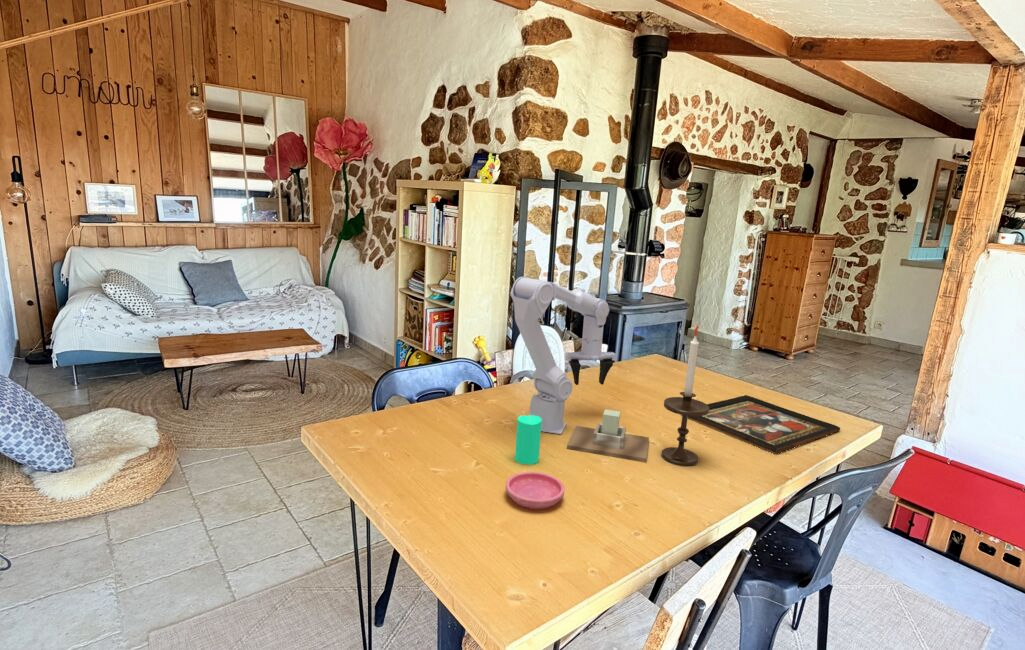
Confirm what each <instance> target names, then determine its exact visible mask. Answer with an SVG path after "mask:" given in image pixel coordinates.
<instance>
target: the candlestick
mask: <svg viewBox="0 0 1025 650" xmlns="http://www.w3.org/2000/svg"><path fill="white" fill-rule="evenodd" d="M698 330H699V325H698V323H697V324H696V327H695V329H694V331H693V335H694V337H693V339H692V340H690V345H689V353H688V358H687V359H688V360H687V368H686V375H685V384H684V390H683V391H680V392H679V395H681V396H672V397H668V398H667V397H666V398H665V399H664V401H663V407H664V409H666V410H667V411H669V412H671V413H674V414H676V415H677V414H678V415H680V416H681V423H680V427H677V430H676V431H677V433H678V437H676V441H678V444H677V445H678V446H677V447H675V446H673V447H672V446H671V447H665V448H663V449H662V450H661V454H660V456H661V458H662V459H663V460H664V461H666V462H667V463H669V464H671V465H675V466H681V467H693V466H696V465H697V464H698V463H699V456H698V454H696V453H695V452H693V451H691V450H690V449H686V448H685V443H686V442H688V439H687V438H686V436H687V435H688V434H689V433H690V431H689V429H688V427H687V425H688V420H689V419H688V416H705V415H707V414H708V413H709V406H708V405H707V404H708V403H705V402H703V401H700V400H699V399H698V400H697V399H694V398H696V397H697V394H695V393H693V389H694V381H695V380H694V379H695V375H696V374H695V373H696V366H697V365H696V364H697V359H698V351H699V344H700V343H699V341H698V337H697V336H698Z"/></svg>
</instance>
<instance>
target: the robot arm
mask: <svg viewBox="0 0 1025 650" xmlns="http://www.w3.org/2000/svg"><path fill="white" fill-rule="evenodd" d="M510 290H511V291H510V292H509V293H510V296H511V299H512V301H513V308H514V309H513V310H514V321H515V324H516V326H517V328H518V331H519V333H520V335H521V338H522V339H523V342H524V345H525V347H526V349H527V351H528V353H529V356H530V359H531V360H532V363H533V365H534V368H535V370H534V371H533V372H532V376H533V380H534V382H533V384H534V388H535V390H536V391H537V394H533V395H532V396H531V400H530V402H529V411H528V412H529V413H528V416H529V415H535V416H539V417H540V418H541V419H542V424H541V432H544V433H550V434H555V435H562V434H563V432H564V430H565V429H566V426H567V423H566V422H564V417H565V407H566V406H565V404H566V401H568V398H569V397H570V396H571V394H572V392H573V387H574V386H573V383H574V384H575V385H576V386H578V385H579V384H580V383H579V382H580V371H581V366H582V364H581V363H580V361H599V375H598V376H599V377H598V383H599V384H600V385H601V386H602V385H604V384H605V380H606V378H607V375H608V373H609V371H610V370H611V368H612V367H613V366H614V361H616V360H617V359H616V358H617V354H616V353H615V352H613V351H602V347H603V346H602V345H603V336H604V325H605V324H606V322H607V317H608V316H609V313H610V307H609V304H608V302H607V301H606V300H605V299H603V298H597V297H596V294H594V293H587V292H586V290H585V289H584V288H580V287H579V288H578V289H577V288H575V289H573V290H570V289H568V288H566V287H564V286H562V285H559V284H557V283H555V282H551V281H548V280H547V281H546V280H541V279H536V278H529V277H527V276H519V277H518V278H516V280H515V281H514V283H513V285H512V288H511V289H510ZM555 300H559V301H562V302H565V304H566V307H567V308H568V309H570V310H573V311H575V312H577V313H580V314H581V315H582V316H583V323H582V324H583V326H582V338H581V339H582V341H581V351H580V350H579V351H574V352H573V351H572V352H566V353H565V360H566V361H568V363H569V365H570V368H571V371H572V377H573V381H572V380H571V379H570V378H568V377H567V375H566V372H565V371H564V370H562V369H561V368H560V366H558V364H557V363H556V361H555V358H554V356H553V353H552V351H551V348H550V346H549V344H548V341H547V338H546V336H545V334H544V331H543V329H542V326H541V323H540V321H539V319H540V318H542V317H543V315H544V313H545V312H546V310H548V308H549V305H550V304H551V303H552V301H555Z"/></svg>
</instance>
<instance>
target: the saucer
mask: <svg viewBox="0 0 1025 650" xmlns="http://www.w3.org/2000/svg"><path fill="white" fill-rule="evenodd" d="M505 482H506V483H505V491H506V493H507V495H508V496H509V498H511V499H512V500H513V502H515V504H516V505H518V504H519V505H518V506H520V507H522V508H524V507H526V508H525V509H528V508H529V509H528V510H537V509H538V510H544V509H545V508H546V509H550V508H551V506H552V507H553V506H554V505H556V504H558V502H560V500H562V499H563V498H564V495H565V485H564V484H563V482H562V481H561V480H560V479H559V478H557V477H556V476H553V475H552V474H548V473H545V472H541V471H523V472H517V473H515V474H513V475H511V476H509V477H508V478H507V480H506V481H505Z"/></svg>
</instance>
